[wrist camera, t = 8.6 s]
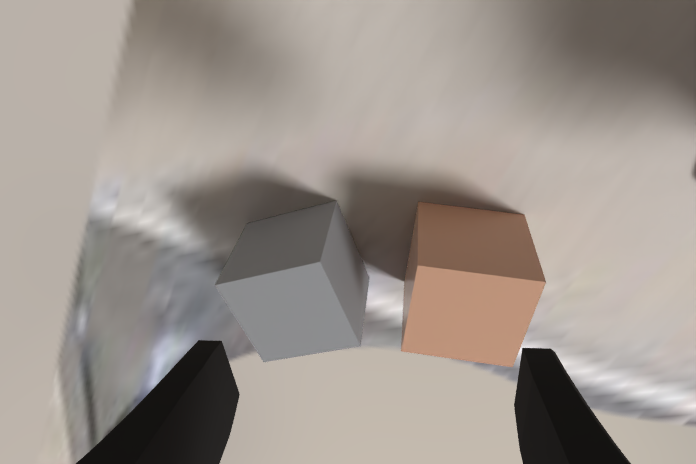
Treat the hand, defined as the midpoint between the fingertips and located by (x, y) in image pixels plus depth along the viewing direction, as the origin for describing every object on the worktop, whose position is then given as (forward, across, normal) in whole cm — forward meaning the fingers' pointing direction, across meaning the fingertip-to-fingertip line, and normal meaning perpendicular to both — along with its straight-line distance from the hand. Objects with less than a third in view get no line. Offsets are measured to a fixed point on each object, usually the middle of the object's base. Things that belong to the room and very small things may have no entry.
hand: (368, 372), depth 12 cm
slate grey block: (+10, +4, +4) cm, 12 cm away
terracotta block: (+10, -3, +4) cm, 12 cm away
